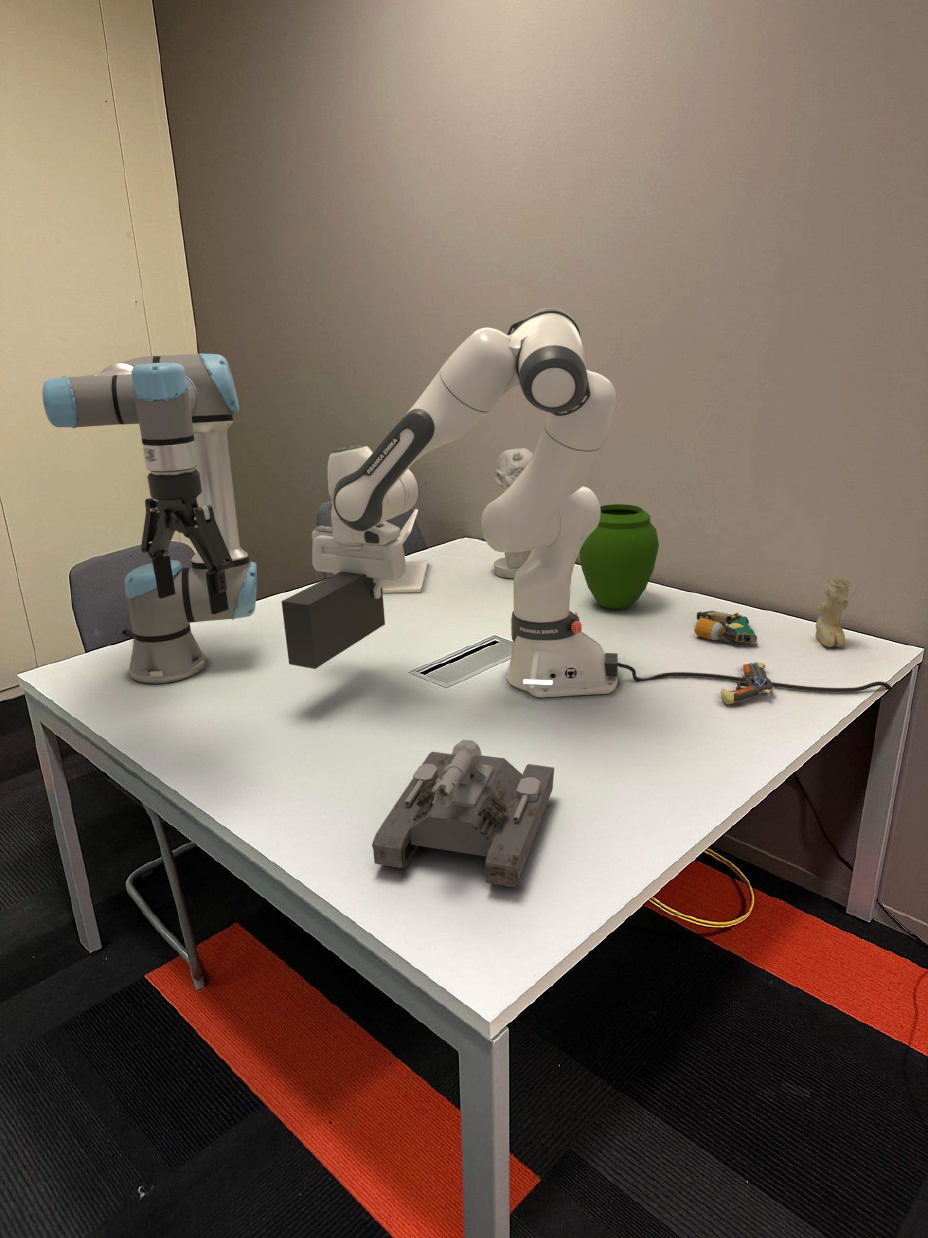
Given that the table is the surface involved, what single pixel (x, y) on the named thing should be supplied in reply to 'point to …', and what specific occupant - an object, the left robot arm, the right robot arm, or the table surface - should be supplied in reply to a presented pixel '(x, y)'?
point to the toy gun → (749, 684)
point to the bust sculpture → (505, 475)
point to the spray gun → (724, 627)
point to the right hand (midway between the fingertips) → (360, 595)
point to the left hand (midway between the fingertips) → (192, 603)
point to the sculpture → (832, 613)
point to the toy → (468, 812)
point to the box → (330, 618)
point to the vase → (619, 555)
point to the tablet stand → (407, 568)
